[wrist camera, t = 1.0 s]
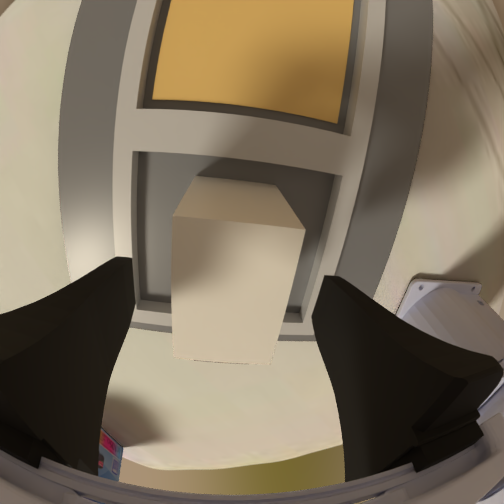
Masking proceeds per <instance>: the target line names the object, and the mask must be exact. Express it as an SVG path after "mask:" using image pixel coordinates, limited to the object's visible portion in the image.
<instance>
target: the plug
mask: <svg viewBox="0 0 504 504" xmlns="http://www.w3.org/2000/svg"><path fill="white" fill-rule="evenodd" d="M305 231H306V229H305V228H304V226H303V225H302V223H301V222H300V220H299V219H298V217H297V216H296V214H295V213H294V211H293V210H292V208H291V207H290V205H289V204H288V202H287V201H286V199H285V198H284V196H283V195H282V194H281V192H280V191H279V189H278V188H277V186H276V185H272V184H265V183H257V182H249V181H241V180H232V179H223V178H213V177H203V176H195V177H194V179H193V181H192V182H191V184H190V186H189V188H188V189H187V191H186V193H185V194H184V196H183V198H182V200H181V201H180V203H179V205H178V207H177V209H176V210H175V212H174V214H173V218H172V248H171V307H172V337H173V357H174V358H179V359H189V360H194V361H205V362H218V363H234V364H271V361H272V358H273V354H274V351H275V347H276V344H277V340H278V337H279V333H280V330H281V326H282V322H283V319H284V315H285V311H286V307H287V304H288V300H289V296H290V292H291V288H292V284H293V280H294V276H295V272H296V268H297V264H298V260H299V256H300V252H301V248H302V244H303V239H304V235H305Z"/></svg>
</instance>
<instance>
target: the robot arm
mask: <svg viewBox="0 0 504 504" xmlns="http://www.w3.org/2000/svg"><path fill="white" fill-rule="evenodd" d="M420 285H421V286H420ZM419 286H420V287H419ZM481 288H482V285H481V284H480V283H477V282H460V281H444V280H428V279H414V280H412V281H411V283H410V285H409V287H408V289H407V291H406V294H405V296H404V298H403V300H402V302H401V305H400V307H399V309H398V311H397V313H396V315H394V314H393V313H391V312H390V311H388V310H387V309H385V308H384V307H383V306H381V305H380V304H378V303H377V302H376V301H374V300H373V299H371V298H370V297H369V296H367V295H366V294H365V293H363V292H362V291H361V290H359V289H358V288H356V287H355V286H354V285H352V284H351V283H349V282H348V281H346V280H345V279H343V278H341V277H340V276H332V275H324V278H323V281H322V284H321V288H320V291H319V294H318V297H317V300H316V303H315V306H314V310H313V313H312V316H311V319H312V324H313V329H314V334H315V338H316V341H317V344H318V347H319V350H320V353H321V355H322V358H323V361H324V364H325V366H326V369H327V372H328V375H329V378H330V380H331V383H332V387H333V390H334V394H335V398H336V403H337V408H338V413H339V419H340V425H341V431H342V439H343V448H344V461H345V482H344V483H340V484H335V485H330V486H325V487H319V488H313V489H307V490H300V491H292V492H282V493H271V494H254V495H212V494H195V493H182V492H174V491H166V490H159V489H153V488H146V487H141V486H136V485H131V484H126V483H121V482H118V481H113V480H110V479H106V478H102V477H98V460H99V442H100V432H101V423H102V417H103V410H104V404H105V399H106V394H107V389H108V385H109V381H110V377H111V374H112V371H113V368H114V365H115V363H116V360H117V357H118V355H119V352H120V350H121V347H122V345H123V342H124V339H125V337H126V334H127V332H128V329H129V327H130V324H131V320H132V316H133V313H134V309H135V305H136V299H135V289H134V277H133V263H132V258H130V257H121V256H116V257H114V258H112V259H110V260H109V261H107V262H105V263H104V264H102V265H100V266H99V267H97V268H96V269H94V270H92V271H91V272H89V273H87V274H86V275H84V276H83V277H81V278H79V279H78V280H76V281H74V282H72V283H71V284H69V285H67V286H66V287H64V288H62V289H60V290H59V291H57V292H55V293H53V294H51V295H49V296H47V297H45V298H42V299H40V300H38V301H36V302H34V303H31V304H29V305H26V306H23V307H21V308H18V309H15V310H13V311H10V312H7V313H3V314H0V504H100V503H97V502H94V501H91V500H89V499H92V500H95V501H98V502H102V503H105V504H354V503H358V502H361V501H364V500H368V499H371V498H374V497H375V498H374V499H371V500H369V501H366V502H363V503H360V504H504V320H503V319H502V318H501V317H500V316H499V315H498V314H497V313H496V312H495V311H494V310H493V309H492V308H491V307H490V306H489V305H488V304H487V303H486V302H485V301H484V300H483V299H482V298H481V297H480V296H479V293H480V291H481ZM82 496H83V497H82ZM84 497H86V498H89V499H86V498H84Z"/></svg>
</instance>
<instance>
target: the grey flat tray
mask: <svg viewBox="0 0 504 504" xmlns="http://www.w3.org/2000/svg"><path fill="white" fill-rule="evenodd" d="M432 40H433V5H432V0H82V2H81V5H80V8H79V12H78V15H77V19H76V22H75V26H74V30H73V34H72V38H71V43H70V47H69V52H68V57H67V63H66V69H65V75H64V82H63V89H62V98H61V108H60V121H59V142H58V176H59V197H60V211H61V221H62V230H63V238H64V245H65V252H66V258H67V264H68V270H69V275H70V280H71V283H72V282H74V281H76V280H78V279H79V278H81V277H83V276H84V275H86V274H87V273H89V272H91V271H92V270H94V269H96V268H97V267H99V266H100V265H102V264H104V263H105V262H107V261H109V260H110V259H112V258H114V257H116V256H121V257H130V258H132V263H133V277H134V289H135V299H136V305H135V309H134V313H133V316H132V320H131V324H130V328H137V329H144V330H151V331H159V332H167V333H172V307H171V248H172V218H173V214H174V212H175V210H176V209H177V207H178V205H179V203H180V201H181V200H182V198H183V196H184V194H185V193H186V191H187V189H188V188H189V186H190V184H191V182H192V181H193V179H194V177H195V176H203V177H213V178H223V179H232V180H241V181H249V182H257V183H265V184H272V185H276V186H277V188H278V189H279V191H280V192H281V194H282V195H283V196H284V198H285V199H286V201H287V202H288V204H289V205H290V207H291V208H292V210H293V211H294V213H295V214H296V216H297V217H298V219H299V220H300V222H301V223H302V225H303V226H304V228H305V229H306V231H305V235H304V239H303V244H302V248H301V252H300V256H299V260H298V264H297V268H296V272H295V276H294V280H293V284H292V288H291V292H290V296H289V300H288V304H287V307H286V311H285V315H284V319H283V322H282V326H281V330H280V333H279V337H278V340H277V341H316V338H315V334H314V329H313V324H312V319H311V316H312V313H313V310H314V306H315V303H316V300H317V297H318V294H319V291H320V288H321V284H322V281H323V278H324V275H332V276H340V277H341V278H343V279H345V280H346V281H348V282H349V283H351V284H352V285H354V286H355V287H356V288H358V289H359V290H361V291H362V292H363V293H365V294H366V295H367V296H369V297H370V298H371V299H373V297H374V294H375V292H376V289H377V287H378V284H379V282H380V279H381V277H382V274H383V271H384V269H385V266H386V263H387V261H388V258H389V255H390V252H391V249H392V246H393V243H394V240H395V237H396V234H397V231H398V228H399V225H400V222H401V218H402V215H403V212H404V208H405V205H406V201H407V198H408V194H409V190H410V186H411V182H412V178H413V174H414V170H415V166H416V161H417V157H418V152H419V147H420V142H421V137H422V132H423V126H424V120H425V114H426V107H427V100H428V92H429V83H430V73H431V60H432Z"/></svg>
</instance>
